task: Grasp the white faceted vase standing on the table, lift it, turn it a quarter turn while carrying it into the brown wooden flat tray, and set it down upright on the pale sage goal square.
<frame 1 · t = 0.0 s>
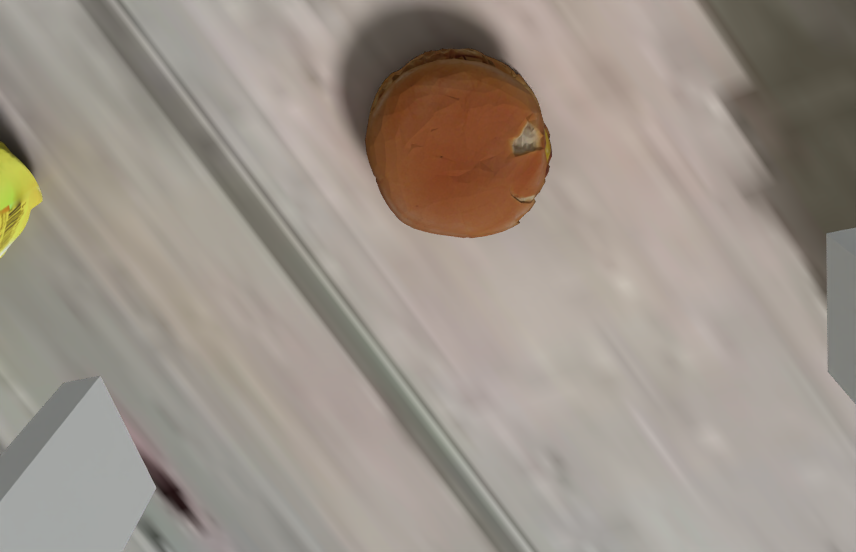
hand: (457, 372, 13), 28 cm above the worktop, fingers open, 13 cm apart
burger: (458, 134, 40), on the worktop
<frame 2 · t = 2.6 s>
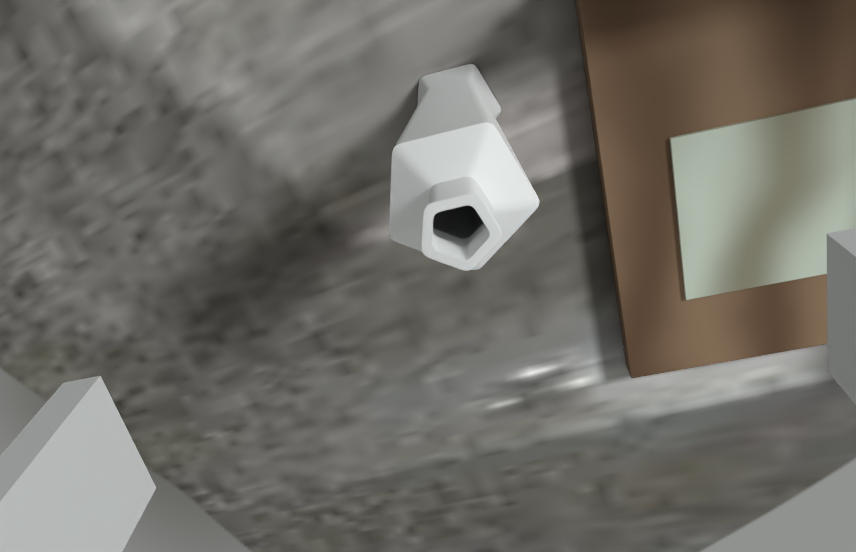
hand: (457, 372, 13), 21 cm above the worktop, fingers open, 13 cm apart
white faceted vase: (451, 109, 33), on the worktop
brown wooden flat tray: (778, 149, 33), on the worktop
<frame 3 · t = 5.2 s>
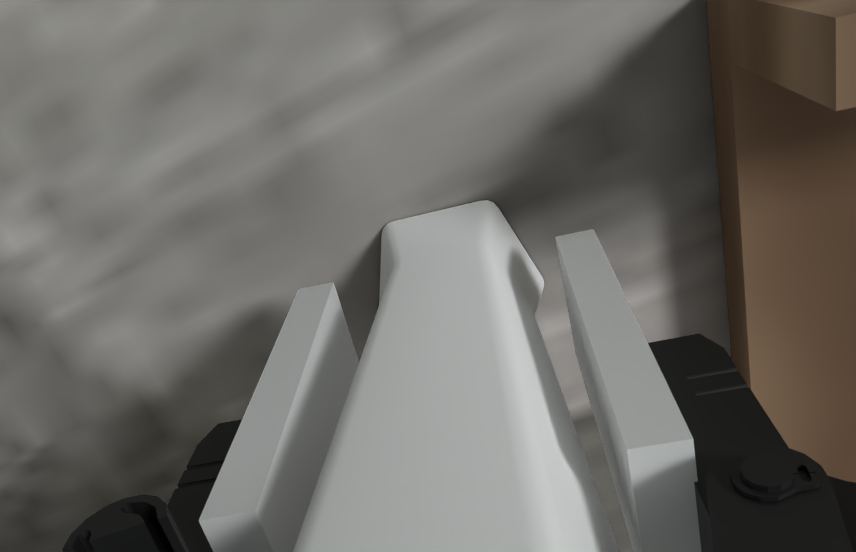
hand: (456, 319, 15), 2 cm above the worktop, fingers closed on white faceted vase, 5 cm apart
white faceted vase: (447, 279, 17), on the worktop, touching gripper
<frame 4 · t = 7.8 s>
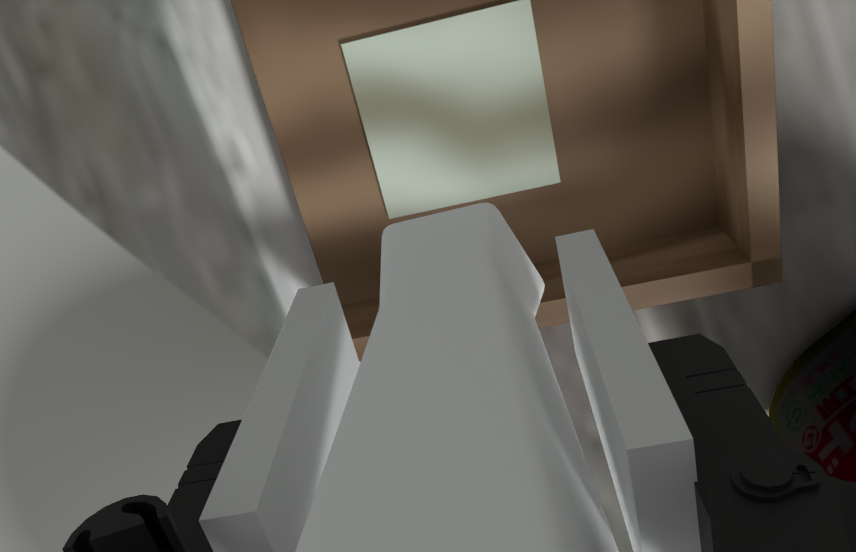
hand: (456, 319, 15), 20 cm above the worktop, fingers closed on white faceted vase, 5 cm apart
white faceted vase: (448, 281, 17), point 18 cm above the worktop, touching gripper
bottle: (844, 353, 38), on the worktop
brown wooden flat tray: (502, 120, 33), on the worktop
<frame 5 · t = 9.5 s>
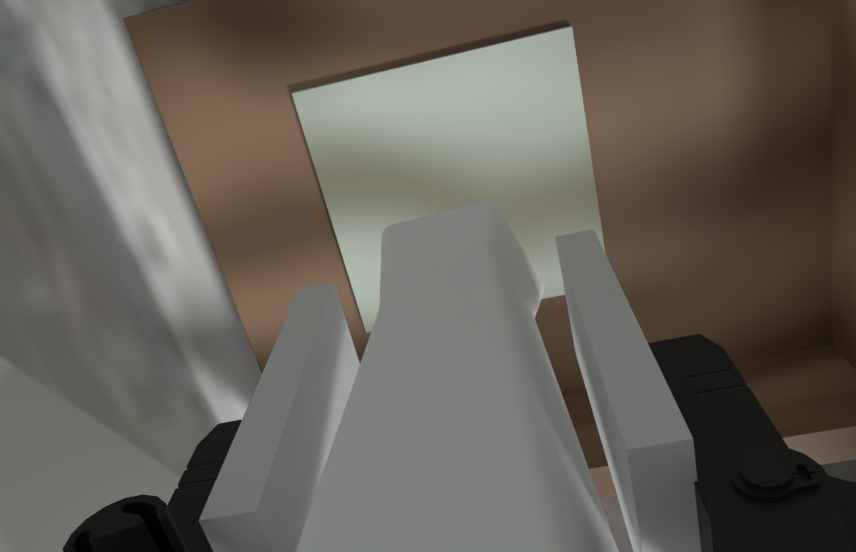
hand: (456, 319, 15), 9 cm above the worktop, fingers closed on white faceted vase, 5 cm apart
white faceted vase: (448, 282, 17), point 7 cm above the worktop, touching gripper
brown wooden flat tray: (526, 196, 23), on the worktop
when the fingers open (4 cm above the worktop, at t = 10.8 s): white faceted vase stays where it is, resting on brown wooden flat tray.
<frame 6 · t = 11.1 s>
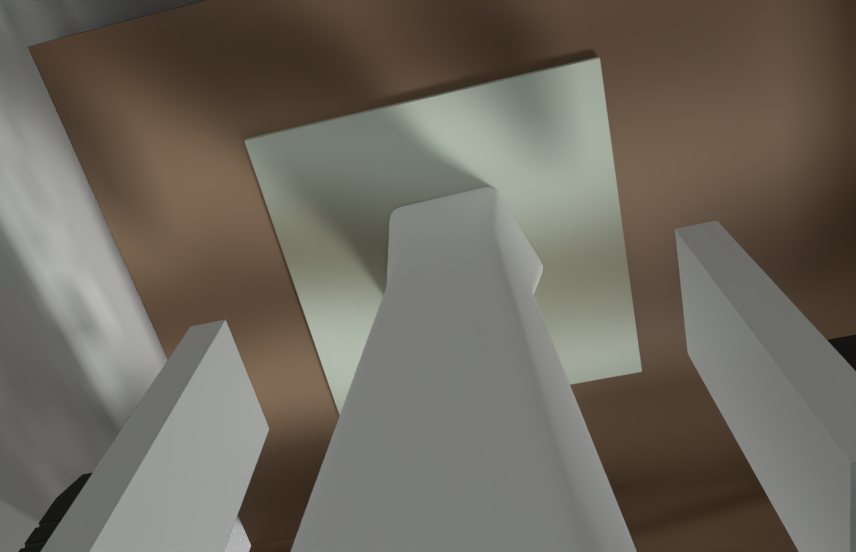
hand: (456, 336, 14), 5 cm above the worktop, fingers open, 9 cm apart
white faceted vase: (451, 263, 18), point 1 cm above the worktop, touching brown wooden flat tray
brown wooden flat tray: (539, 260, 19), on the worktop
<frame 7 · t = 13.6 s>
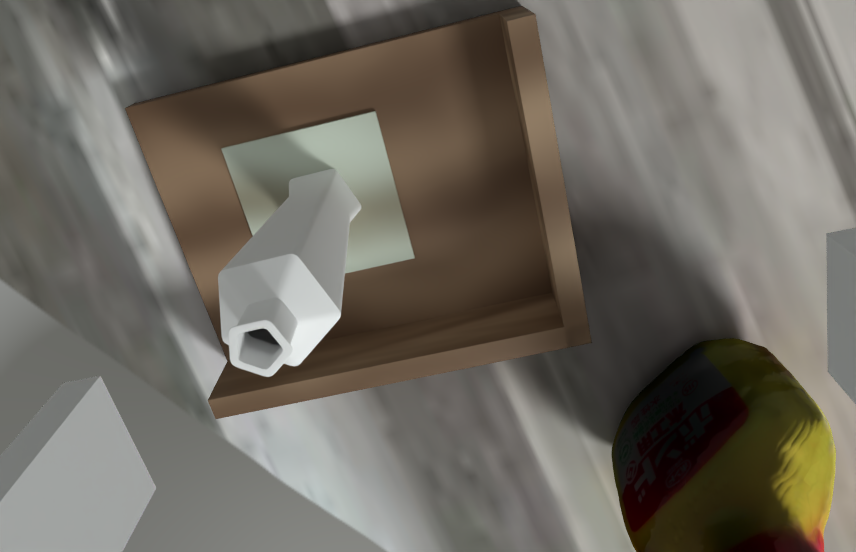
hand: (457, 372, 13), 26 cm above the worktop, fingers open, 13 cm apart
white faceted vase: (319, 205, 38), point 1 cm above the worktop, touching brown wooden flat tray
bottle: (675, 395, 44), on the worktop
brown wooden flat tray: (365, 206, 39), on the worktop
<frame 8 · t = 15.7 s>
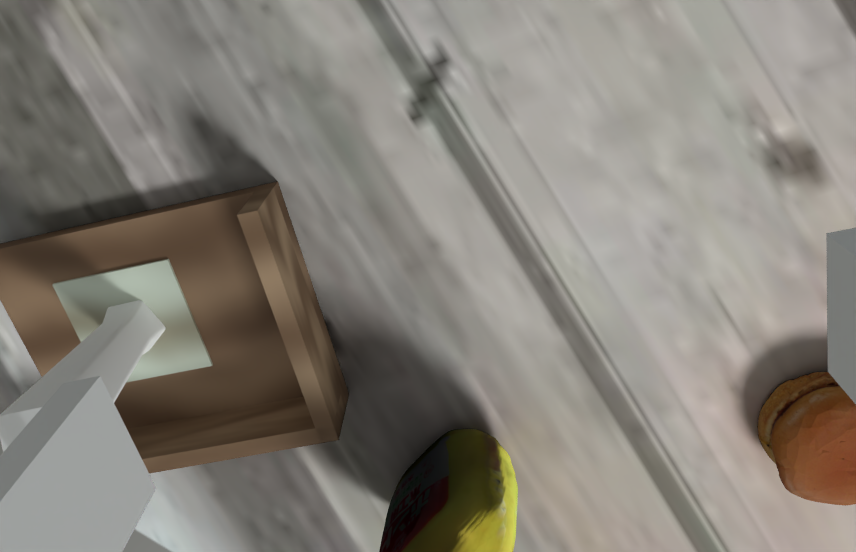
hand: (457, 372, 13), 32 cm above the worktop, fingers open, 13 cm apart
burger: (823, 416, 52), on the worktop
white faceted vase: (133, 325, 48), point 1 cm above the worktop, touching brown wooden flat tray
bottle: (443, 468, 54), on the worktop
brown wooden flat tray: (175, 323, 50), on the worktop
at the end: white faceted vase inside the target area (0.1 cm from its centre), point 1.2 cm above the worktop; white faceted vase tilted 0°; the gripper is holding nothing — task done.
